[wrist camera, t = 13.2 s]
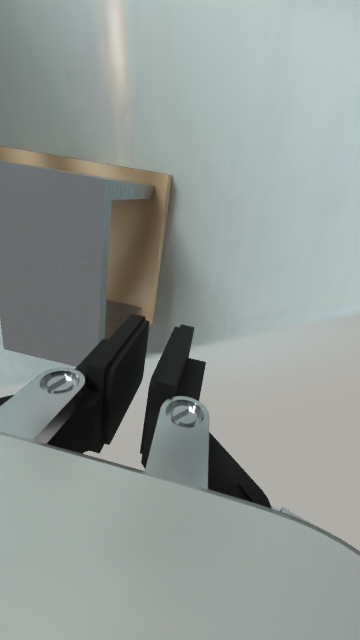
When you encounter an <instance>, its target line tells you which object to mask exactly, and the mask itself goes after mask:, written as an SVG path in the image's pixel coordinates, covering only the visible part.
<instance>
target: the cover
mask: <svg viewBox="0 0 360 640" xmlns="http://www.w3.org/2000/svg"><path fill="white" fill-rule="evenodd" d="M154 189H155V186H153V185H147V184H141V183H136V182H130V181H124V180H118V179H113V178H107V177H101V176H95V175H90V174H84V173H78V172H72V171H65V170H59V169H52V168H46V167H39V166H33V165H26V164H19V163H13V162H6V161H0V319H1V328H2V336H3V345H4V349H7V350H11V351H15V352H19V353H23V354H27V355H31V356H35V357H39V358H43V359H47V360H52V361H56V362H60V363H64V364H68V365H72V366H76V367H77V366H78V365H79V364H80V363H81V362H82V361H83V360H84V359H85V358H86V357H87V355H88V354H89V353H90V352H91V351H92V350H93V349H94V348H95V347H96V346H97V345H98V344H99V343H100V342H101V340H103V339H109V338H110V337H111V336H112V335H113V334H114V333H115V332H116V331H117V329H118V328H119V327H120V326H121V325H122V324H123V323H124V322H125V320H126V319H127V318H128V317H129V316H130V315H131V314H136V315H140V316H141V309H142V307H137V306H133V305H128V304H124V303H119V302H115V301H110V300H106V299H107V280H108V261H109V242H110V222H111V203H112V200H127V199H154Z"/></svg>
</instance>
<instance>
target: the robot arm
mask: <svg viewBox="0 0 360 640" xmlns="http://www.w3.org/2000/svg"><path fill="white" fill-rule="evenodd" d="M148 332H149V321H147V320H146V318H145V316H140V315H136V314H131V315H130V316H129V317H128V318H127V319H126V320H125V322H124V323H123V324H122V325H121V326H120V327H119V328H118V329H117V331H116V332H115V333H114V334H113V335H112V336H111V337H110V338H109V339H103V340H101V342H100V343H99V344H98V345H97V346H96V347H95V348H94V349H93V350H92V351H91V352H90V353H89V354H88V355H87V357H86V358H85V359H84V360H83V361H82V362H81V363H80V364H79V365H78V366H77V367H76V368H75V369H71V368H55V369H51V370H48V371H45V372H44V373H42V374H40V375H39V376H38V377H36V378H35V379H34V380H33V381H31V382H30V383H29V384H28V385H26V386H25V387H24V388H23V389H21V390H20V391H19V392H18V393H16V394H15V395H11V396H7V397H2V398H0V640H360V551H359V550H357V549H356V548H354V547H353V546H351V545H349V544H348V543H346V542H345V541H343V540H342V539H340V538H338V537H336V536H334V535H332V534H331V533H329V532H327V531H325V530H323V529H321V528H319V527H317V526H315V525H313V524H311V523H309V522H308V521H306V520H304V519H302V518H301V517H299V516H297V515H295V514H294V513H292V512H290V511H289V510H287V509H285V508H283V507H282V509H281V511H279V510H277V509H276V508H274V507H272V506H271V505H270V503H269V500H268V498H267V497H266V495H265V494H264V492H263V491H262V490H261V489H260V488H259V486H258V485H257V484H256V483H255V482H254V481H253V480H252V479H251V478H250V477H249V475H248V474H247V473H246V472H245V471H244V470H243V469H242V468H241V467H240V465H239V464H238V463H237V462H236V461H235V460H234V459H233V458H232V457H231V455H230V454H229V453H228V452H227V451H226V450H225V449H224V448H223V447H222V446H221V445H220V443H219V442H218V441H217V440H216V439H215V438H214V437H213V436H212V435H211V433H210V432H209V413H208V411H207V409H206V408H205V407H204V405H203V404H201V403H200V402H199V397H200V391H201V386H202V381H203V375H204V370H205V364H206V362H203V361H199V360H194V359H190V358H188V357H189V352H190V347H191V342H192V337H193V332H194V327H190V326H186V325H181V326H180V328H178V327H175V328H174V330H173V332H172V335H171V337H170V339H169V341H168V343H167V345H166V347H165V350H164V352H163V354H162V356H161V358H160V360H159V362H158V365H157V367H156V369H155V371H154V373H153V375H152V378H151V382H150V386H149V392H148V399H147V406H146V413H145V421H144V428H143V435H142V443H141V450H140V453H141V454H142V461H141V463H142V465H143V466H144V468H145V471H142V470H138V469H135V468H131V467H127V466H124V465H121V464H117V463H113V462H109V461H106V460H102V459H99V458H95V457H92V456H88V455H85V454H83V452H86V451H93V452H97V453H100V451H101V449H102V448H103V445H104V444H108V445H109V444H110V442H111V441H112V439H113V437H114V435H115V433H116V431H117V429H118V427H119V425H120V423H121V421H122V419H123V417H124V415H125V413H126V411H127V409H128V407H129V405H130V404H131V401H132V400H133V398H134V396H135V393H136V392H137V390H138V388H139V386H140V384H141V381H142V378H143V372H144V363H145V356H146V348H147V340H148Z"/></svg>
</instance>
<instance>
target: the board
mask: <svg viewBox="0 0 360 640" xmlns="http://www.w3.org/2000/svg"><path fill="white" fill-rule="evenodd" d="M0 161H6V162H13V163H19V164H26V165H33V166H39V167H46V168H52V169H59V170H65V171H72V172H78V173H84V174H90V175H95V176H101V177H107V178H113V179H118V180H124V181H130V182H136V183H141V184H147V185H153V186H155V189H154V199H127V200H112V203H111V222H110V242H109V261H108V280H107V299H106V300H110V301H115V302H119V303H124V304H128V305H133V306H137V307H142V309H141V316H145V318H146V320H147V321H149V327H150V326H151V324H152V323H153V320H154V312H155V305H156V297H157V289H158V282H159V274H160V266H161V258H162V251H163V243H164V235H165V228H166V220H167V212H168V204H169V197H170V189H171V181H172V175H168V174H162V173H157V172H151V171H145V170H139V169H133V168H127V167H121V166H115V165H109V164H103V163H97V162H91V161H85V160H79V159H74V158H68V157H62V156H56V155H50V154H44V153H38V152H32V151H26V150H20V149H14V148H8V147H2V146H0Z"/></svg>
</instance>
